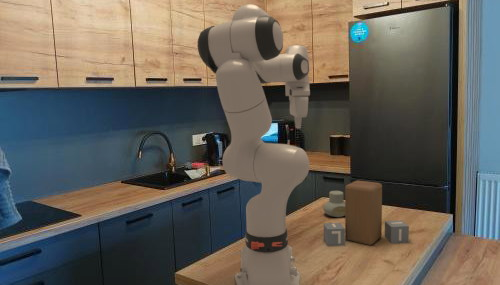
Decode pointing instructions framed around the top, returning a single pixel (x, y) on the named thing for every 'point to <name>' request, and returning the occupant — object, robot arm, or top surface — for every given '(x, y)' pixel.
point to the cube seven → (334, 234)
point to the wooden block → (363, 212)
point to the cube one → (396, 231)
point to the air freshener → (335, 204)
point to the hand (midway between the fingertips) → (298, 128)
